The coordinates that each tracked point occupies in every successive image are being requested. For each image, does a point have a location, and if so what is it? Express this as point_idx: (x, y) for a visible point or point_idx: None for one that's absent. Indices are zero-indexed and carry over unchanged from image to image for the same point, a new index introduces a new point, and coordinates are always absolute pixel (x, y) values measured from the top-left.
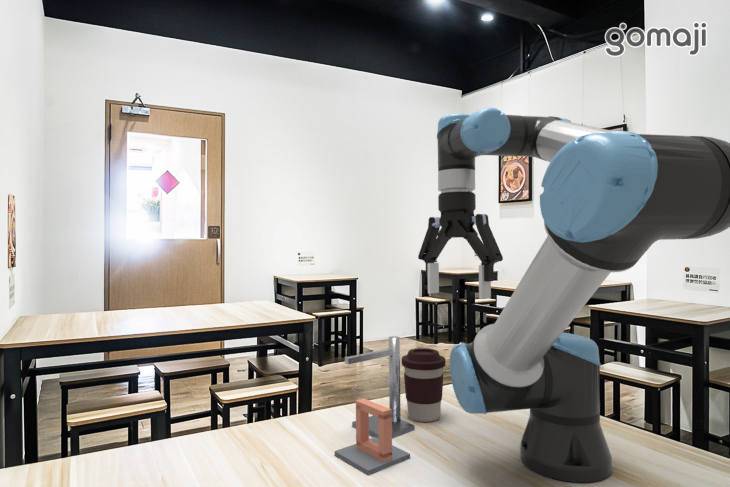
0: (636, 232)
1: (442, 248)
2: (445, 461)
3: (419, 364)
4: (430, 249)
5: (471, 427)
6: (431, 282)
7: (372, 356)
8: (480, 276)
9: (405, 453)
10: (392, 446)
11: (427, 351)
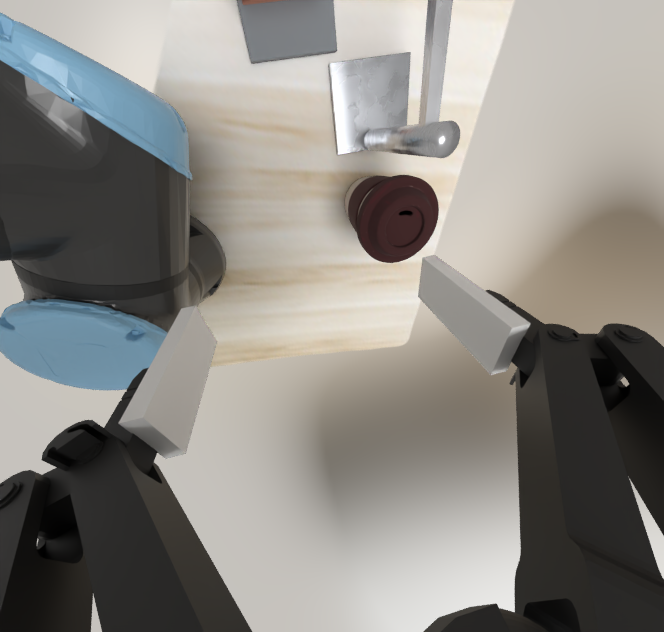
0: None
1: (521, 457)
2: (222, 115)
3: (376, 190)
4: (597, 402)
5: (304, 233)
6: (444, 282)
7: (429, 27)
8: (155, 368)
9: (255, 54)
10: (289, 51)
11: (408, 243)
